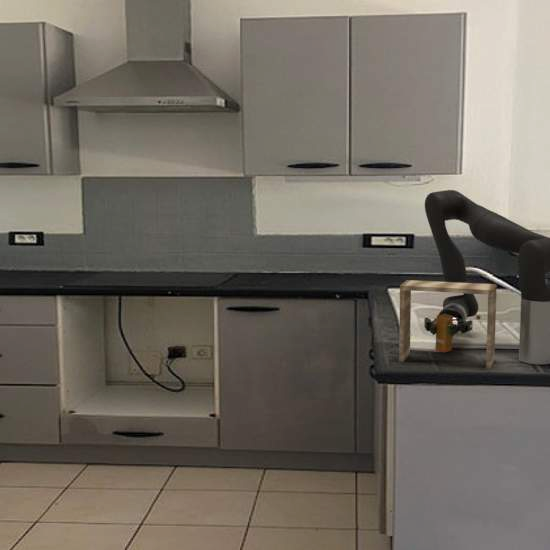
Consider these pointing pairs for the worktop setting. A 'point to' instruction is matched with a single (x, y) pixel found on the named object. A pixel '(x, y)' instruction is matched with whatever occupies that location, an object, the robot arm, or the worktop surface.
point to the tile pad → (423, 346)
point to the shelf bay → (451, 288)
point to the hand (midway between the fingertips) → (442, 331)
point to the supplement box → (444, 332)
